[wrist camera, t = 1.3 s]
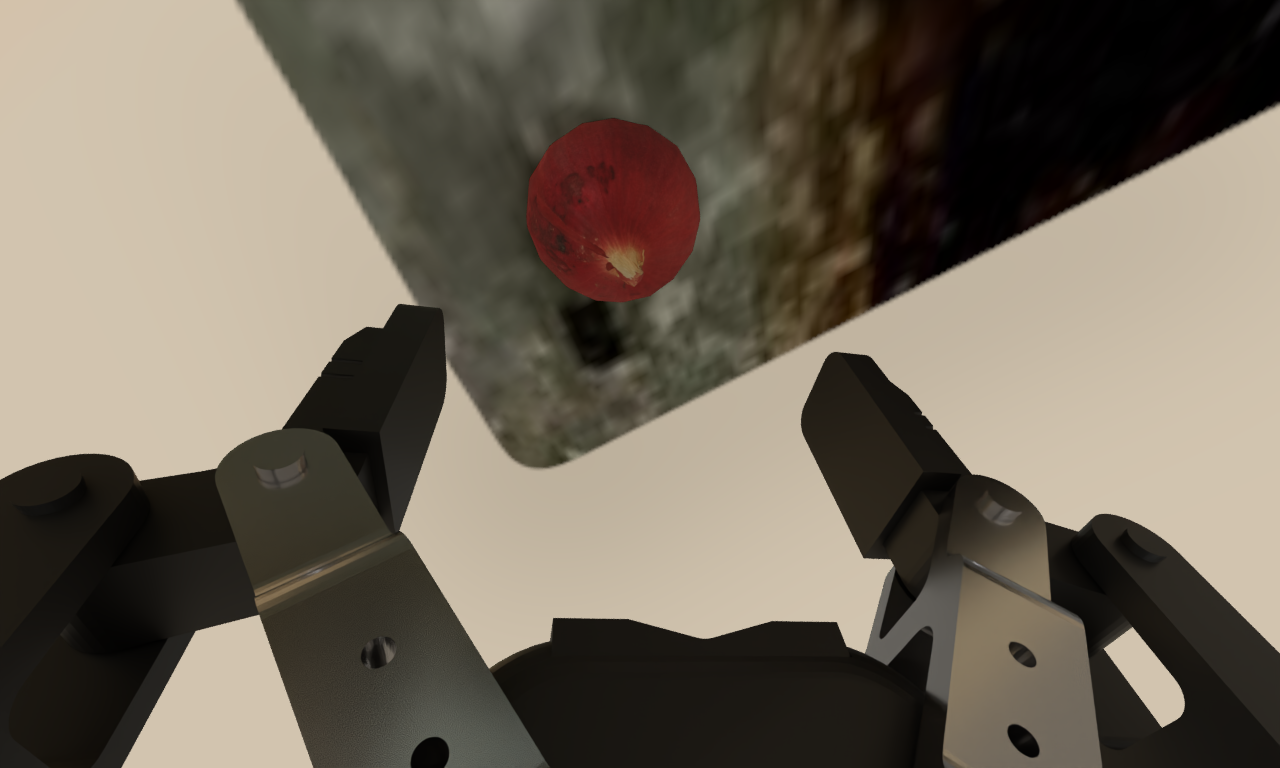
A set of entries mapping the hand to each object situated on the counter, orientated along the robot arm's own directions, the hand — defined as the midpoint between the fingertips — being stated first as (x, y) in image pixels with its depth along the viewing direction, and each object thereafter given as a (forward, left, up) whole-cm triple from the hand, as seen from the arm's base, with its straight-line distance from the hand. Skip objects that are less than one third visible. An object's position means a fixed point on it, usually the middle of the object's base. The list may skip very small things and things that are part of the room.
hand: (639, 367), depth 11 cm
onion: (0, 0, -13) cm, 13 cm away
